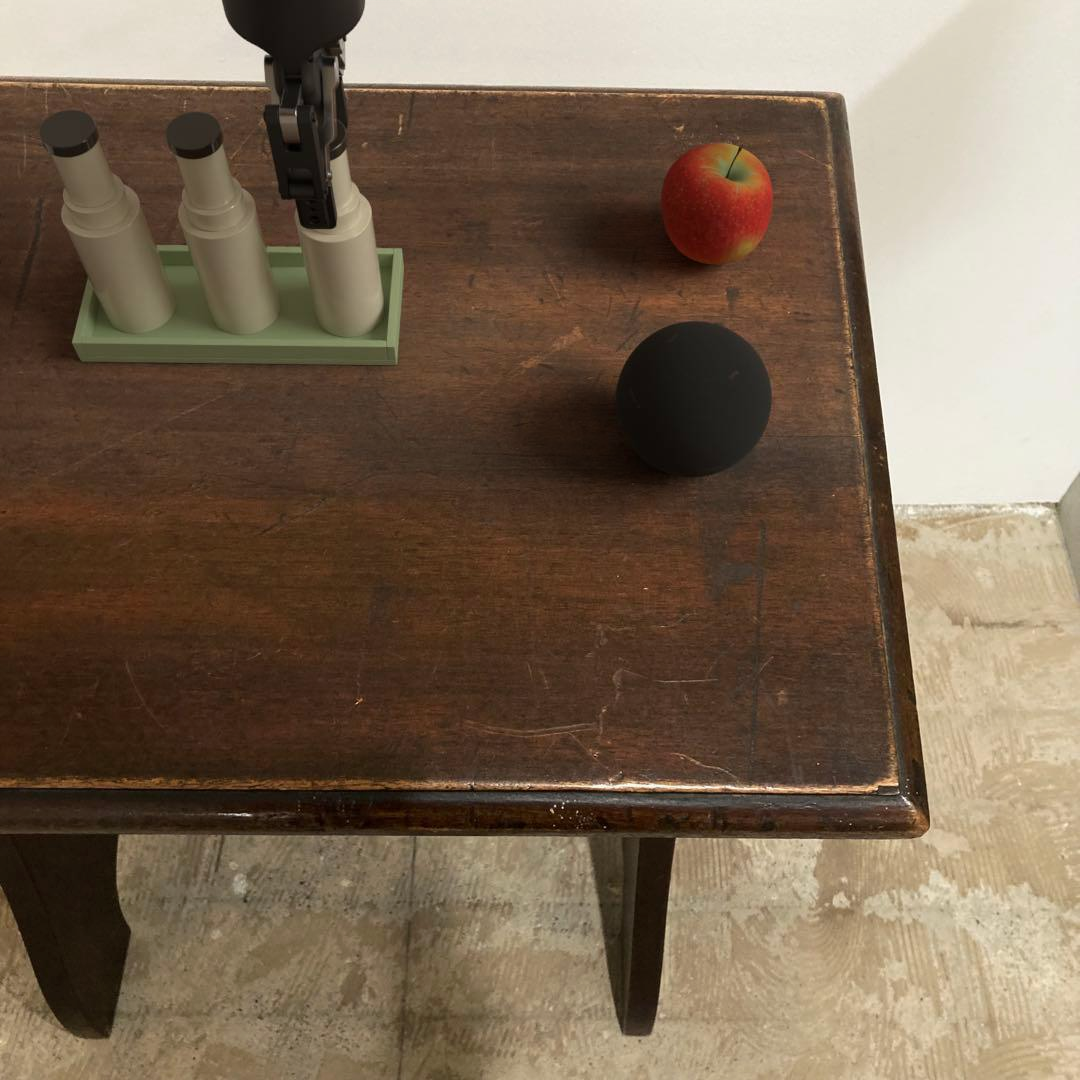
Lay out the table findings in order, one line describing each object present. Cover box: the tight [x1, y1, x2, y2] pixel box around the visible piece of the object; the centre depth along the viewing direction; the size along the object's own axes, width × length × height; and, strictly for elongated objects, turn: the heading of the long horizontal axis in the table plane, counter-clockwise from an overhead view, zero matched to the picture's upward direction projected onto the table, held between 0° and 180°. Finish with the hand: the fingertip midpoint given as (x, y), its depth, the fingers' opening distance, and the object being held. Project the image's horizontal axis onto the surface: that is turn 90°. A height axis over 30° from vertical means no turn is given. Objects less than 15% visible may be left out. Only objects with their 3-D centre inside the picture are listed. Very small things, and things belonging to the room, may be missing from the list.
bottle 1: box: [38, 109, 176, 333], centre depth 76 cm, size 5×5×16 cm
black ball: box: [615, 320, 773, 478], centre depth 74 cm, size 10×10×10 cm
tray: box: [71, 244, 405, 366], centre depth 82 cm, size 22×9×2 cm, turn 90°
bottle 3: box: [293, 115, 385, 337], centre depth 76 cm, size 5×5×16 cm
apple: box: [660, 142, 774, 266], centre depth 83 cm, size 8×8×10 cm
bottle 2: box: [164, 111, 281, 335], centre depth 76 cm, size 5×5×16 cm
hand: (325, 175), depth 72 cm, fingers open, 8 cm apart
